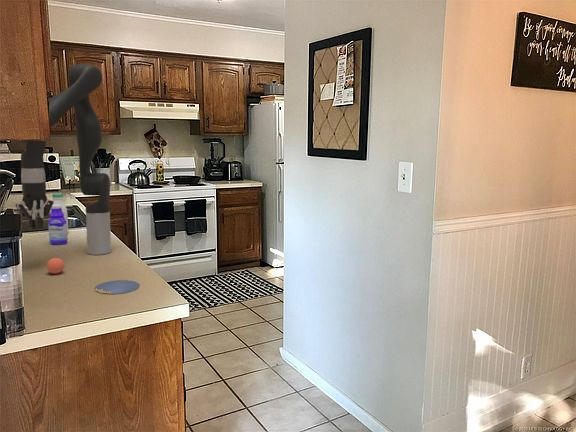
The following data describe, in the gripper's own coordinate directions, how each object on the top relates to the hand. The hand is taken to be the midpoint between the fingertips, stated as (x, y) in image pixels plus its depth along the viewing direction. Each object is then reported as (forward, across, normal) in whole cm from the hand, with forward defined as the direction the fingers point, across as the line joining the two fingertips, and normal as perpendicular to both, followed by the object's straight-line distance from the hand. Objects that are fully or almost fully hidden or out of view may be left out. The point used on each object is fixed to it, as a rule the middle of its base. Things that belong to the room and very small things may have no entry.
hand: (36, 228), depth 171 cm
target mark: (+15, +2, -39) cm, 42 cm away
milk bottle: (+15, +40, +46) cm, 63 cm away
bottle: (+15, +28, +30) cm, 44 cm away
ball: (+12, 0, -10) cm, 15 cm away
